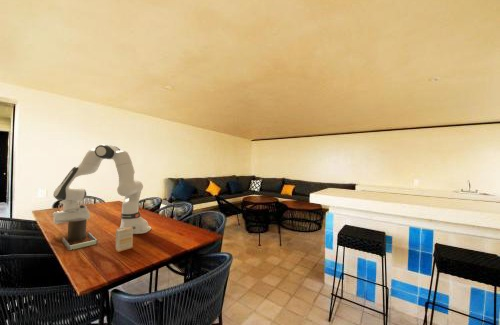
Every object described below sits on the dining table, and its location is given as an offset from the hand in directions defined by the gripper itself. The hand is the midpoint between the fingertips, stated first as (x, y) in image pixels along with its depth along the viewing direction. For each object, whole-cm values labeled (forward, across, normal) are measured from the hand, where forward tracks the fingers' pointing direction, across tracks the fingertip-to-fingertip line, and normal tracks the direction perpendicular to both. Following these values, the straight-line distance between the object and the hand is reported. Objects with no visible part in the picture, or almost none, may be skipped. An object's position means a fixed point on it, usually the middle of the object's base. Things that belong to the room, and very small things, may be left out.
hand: (73, 225), depth 145 cm
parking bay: (+18, 0, -9) cm, 20 cm away
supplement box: (+40, +16, -31) cm, 53 cm away
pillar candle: (+13, 0, -3) cm, 13 cm away
